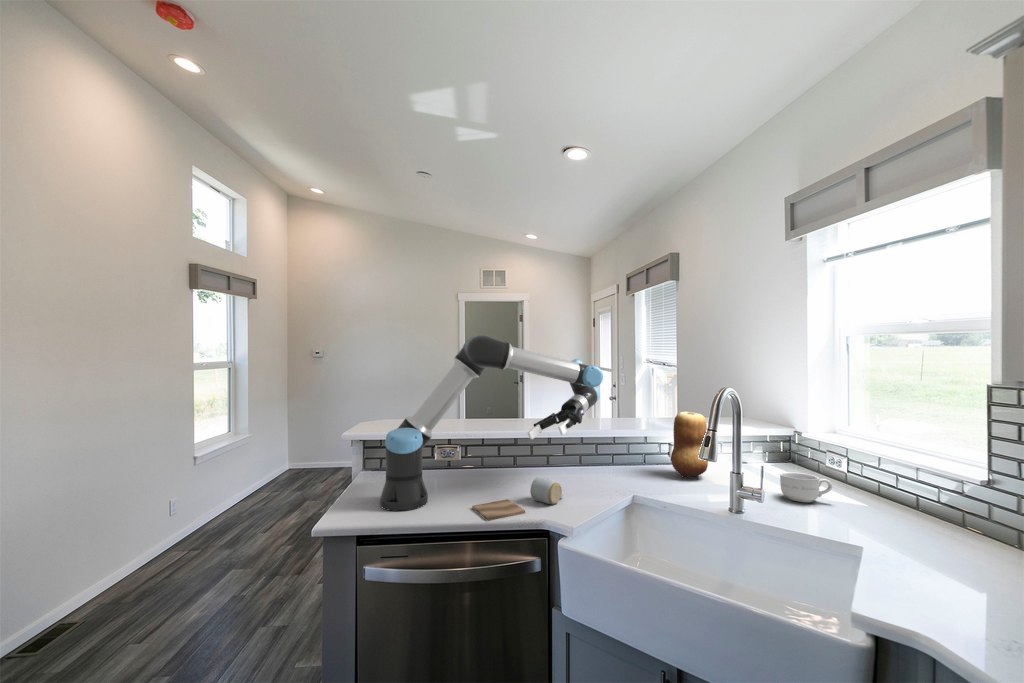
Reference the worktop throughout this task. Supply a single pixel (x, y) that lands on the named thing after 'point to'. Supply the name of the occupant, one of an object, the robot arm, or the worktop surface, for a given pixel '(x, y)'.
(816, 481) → the teacup
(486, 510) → the walnut trivet
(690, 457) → the butternut squash
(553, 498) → the ceramic mug
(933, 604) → the worktop surface
